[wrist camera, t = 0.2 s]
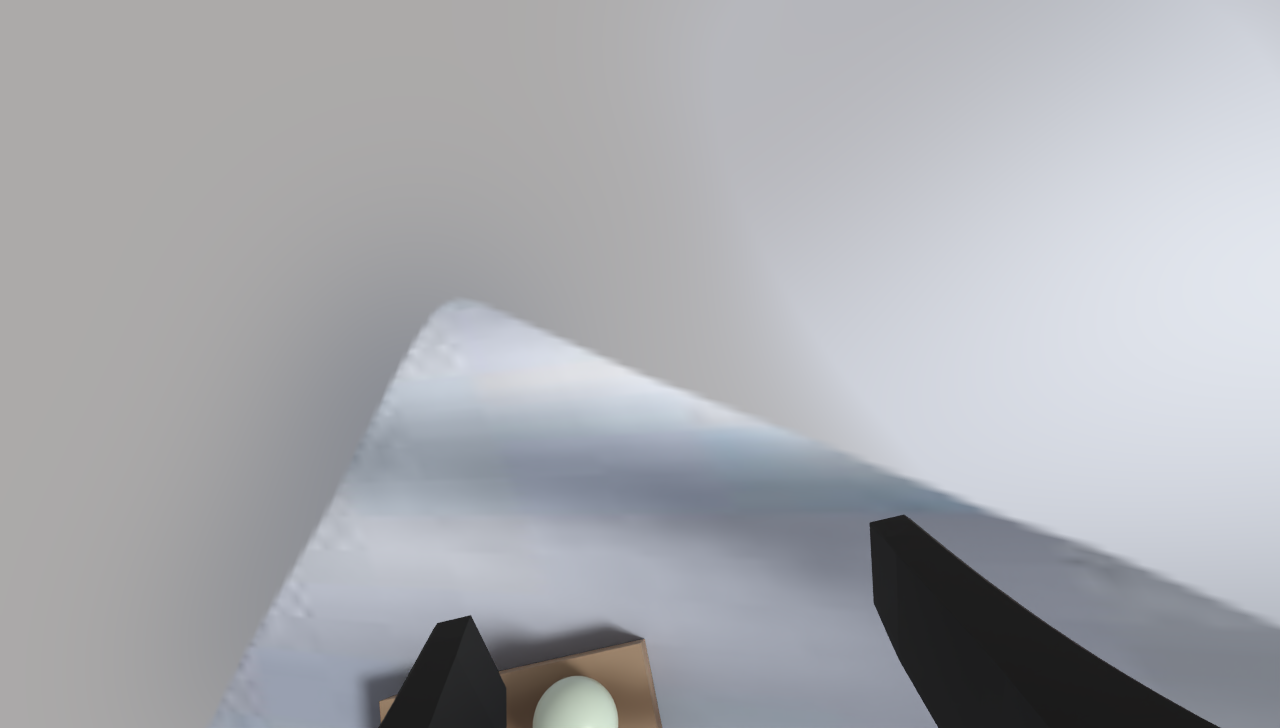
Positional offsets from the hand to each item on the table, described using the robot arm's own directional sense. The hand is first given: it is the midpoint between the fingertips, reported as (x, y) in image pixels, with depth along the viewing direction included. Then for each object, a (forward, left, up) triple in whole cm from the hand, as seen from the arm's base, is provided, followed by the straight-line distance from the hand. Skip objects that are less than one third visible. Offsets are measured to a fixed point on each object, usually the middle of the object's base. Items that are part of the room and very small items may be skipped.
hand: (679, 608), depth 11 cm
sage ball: (-6, +8, -26) cm, 28 cm away
